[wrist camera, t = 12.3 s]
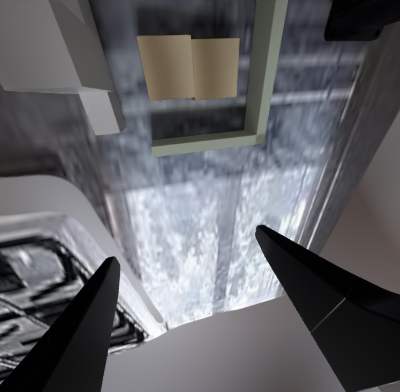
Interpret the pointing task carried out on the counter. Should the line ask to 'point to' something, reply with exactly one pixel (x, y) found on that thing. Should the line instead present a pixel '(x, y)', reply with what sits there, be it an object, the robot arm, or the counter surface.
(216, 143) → the green u-shaped frame
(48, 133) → the counter surface
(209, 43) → the chip
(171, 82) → the chip
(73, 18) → the grey stepped block
